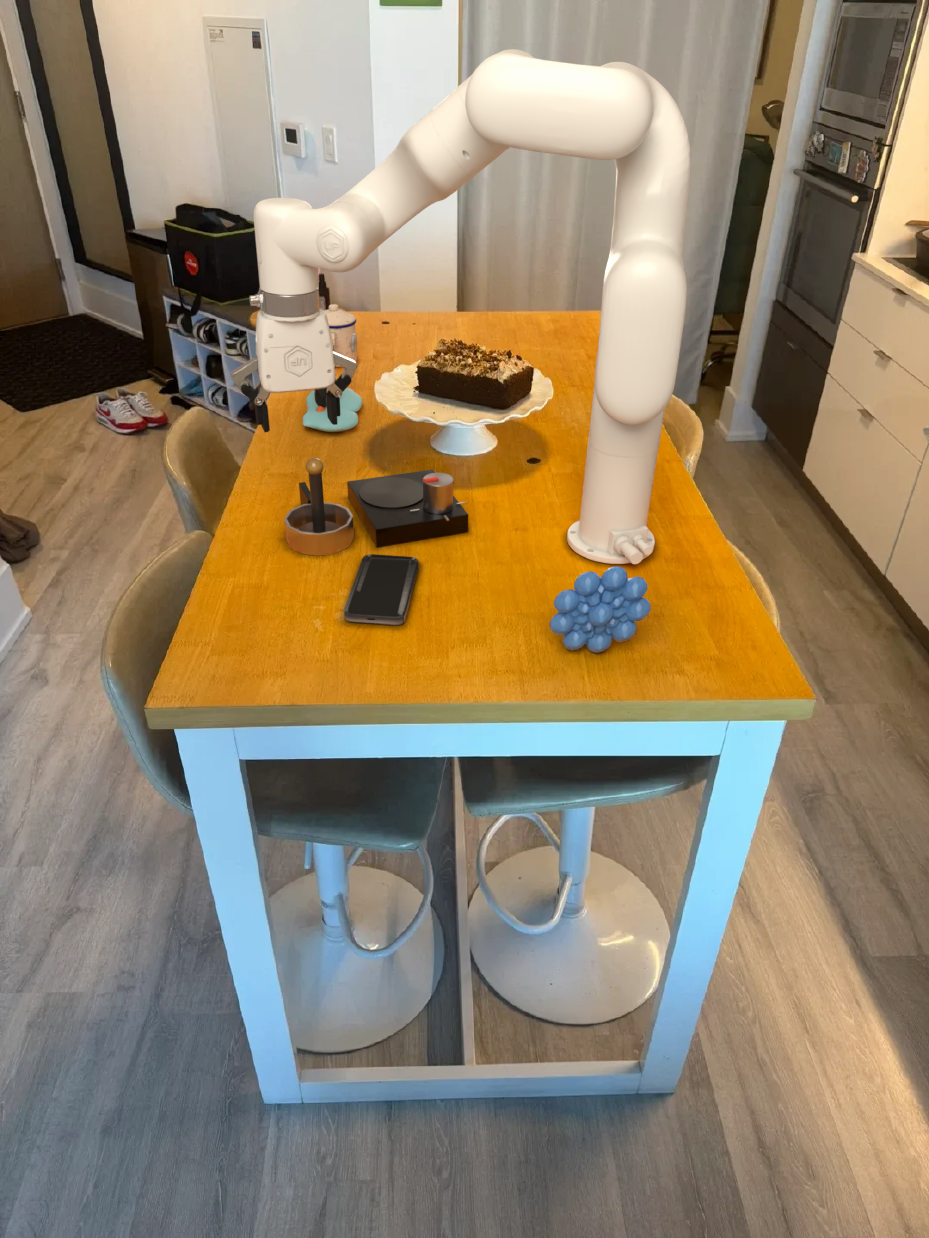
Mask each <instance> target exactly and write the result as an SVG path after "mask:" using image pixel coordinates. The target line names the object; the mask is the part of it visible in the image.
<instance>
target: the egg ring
mask: <svg viewBox="0 0 929 1238" xmlns="http://www.w3.org/2000/svg"><path fill="white" fill-rule="evenodd" d="M298 490H299V500H300V501H299V502H300V505H297V506H296V507H293V508H292V509H290V510H289V511H288V512H287V514H286V515H285V516H284V518H283V522H284V532H285V541H286V543H287V546H288V547H289V549H290V550H292V551H294V552H296V553H299V554H300V555H306V556H315V557H322V556H328V555H334V554H338V553H340V552H342V551H344V550H346V549H347V548H349V547H350V546H351V545H352V543H353V540H354V539H355V530H354V516H353V514H352V512H351V511H350V509H349V508H347V507H345V506H343V505H341V504H339V503H335V502H326V501H324V511H325V521H327V522H332V523H335V524H337V525H339V526H340V528H338V529H336V530H334V531H327V532H321V533H312V532H302V531H300V530H299V528H300V527H302V526H303V525H305V524H308V523H311V522H313V521H312V509H311V497H310V487H309V486H308V484H307V483H306V481H302V482H298Z"/></svg>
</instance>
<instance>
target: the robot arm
mask: <svg viewBox="0 0 929 1238" xmlns="http://www.w3.org/2000/svg"><path fill="white" fill-rule="evenodd" d="M510 148H513V149H518V150H523V151H528V152H529V151H530V152H535V153H543V154H551V155H559V156H567V157H573V158H581V159H587V160H589V159H590V160H599V161H612V160H614V164H615V171H616V172H615V191H614V203H613V204H614V205H613V221H612V231H611V241H610V248H609V255H608V259H607V263H606V266H605V269H604V275H603V283H602V292H601V293H602V294H601V295H602V296H601V305H600V316H599V317H600V319H599V330H598V342H597V344H598V345H597V352H596V357H595V367H594V368H595V369H594V382H593V392H592V403H591V413H590V421H589V432H588V439H587V448H586V457H585V466H584V476H583V483H582V484H583V486H582V494H581V503H580V512H579V520H577V521H575V522H573V523H572V524H571V525H570V527H569V528H568V530H567V534H566V541H567V544H568V546H569V547H570V549H572V550H573V551H574V553H576V554H578V555H579V556H580V557H583V558H586V559H588V560H590V561H593V562H597V563H601V564H610V565H625V564H632V565H638V564H639V563H641V562H642V561H643V560H644V559H646V558H648V557H649V556H650V555H651V554H652V553H653V552H654V549H655V543H656V539H655V536H654V534H653V532H652V531H651V530H650V529H649V527H648V526H647V524H648V519H649V511H650V504H651V499H652V493H653V492H652V491H653V486H654V478H655V472H656V467H657V460H658V453H659V448H660V443H661V436H662V429H663V423H664V416H665V409H666V407H667V406H668V404H669V403H670V401H671V399H672V397H673V393H674V390H675V385H676V379H677V375H678V374H677V373H678V366H679V359H680V352H681V346H682V340H683V331H684V325H685V316H686V310H687V309H686V308H687V298H688V282H687V276H686V275H687V274H686V270H685V264H684V244H685V243H684V242H685V234H686V226H687V217H688V205H689V195H690V187H691V185H690V184H691V170H692V167H691V165H692V163H691V162H692V157H691V146H690V139H689V134H688V129H687V126H686V122H685V120H684V117H683V115H682V112H681V110H680V109H679V106H678V104H677V103H676V101H675V99H674V98H673V96H672V95H671V93H670V92H669V91H668V90H667V89H666V88H665V86H664V85H662V84H661V82H659V81H658V80H657V79H655V78H654V77H653V76H651V75H650V74H649V73H648V72H647V71H645V70H643V69H641V68H639V67H638V66H636V65H634V64H632V63H628V62H625V61H611V62H607V63H604V64H602V65H600V66H599V65H588V64H579V63H571V62H563V61H554V60H547V59H542V58H535V57H534V56H533V55H531V54H530V53H528V52H526V51H525V50H521V49H516V48H509V49H504V50H502V51H499V52H497V53H495V54H492V55H490V56H489V57H487V58H485V59H484V60H483V61H482V62H481V63H480V64H478V66H477V67H476V68H475V70H474V71H473V72H472V74H471V75H469V76H468V77H467V78H466V79H465V80H464V81H463V82H461V83H460V84H459V85H458V86H457V87H456V88H454V90H452V91H451V92H450V93H449V94H448V95H446V97H444V98H443V99H442V100H441V101H440V102H439V103H437V104H436V105H435V106H434V107H433V108H432V109H430V110H429V111H428V112H427V113H426V114H424V115H423V116H422V117H421V118H420V119H418V121H416V122H415V123H414V124H413V125H412V126H410V128H408V129H407V131H406V132H405V133H404V134H403V135H402V136H401V138H400V140H399V142H398V143H397V145H396V147H395V148H394V149H393V151H391V153H389V155H388V156H387V157H386V158H385V159H384V160H383V161H382V162H380V163H379V164H378V165H377V166H375V168H373V170H371V171H370V172H369V173H368V174H367V175H366V176H365V177H363V178H362V179H361V180H360V181H359V182H357V183H356V184H355V185H354V186H353V187H352V188H350V189H349V190H348V191H347V192H345V193H344V194H343V195H342V196H340V197H339V198H337V199H336V200H335V201H333V202H332V203H330V204H328V205H325V206H324V207H319V208H313V207H312V205H311V204H310V203H309V202H307V201H305V200H303V199H300V198H295V197H271V198H265V199H262V200H260V201H258V202H257V203H256V205H255V206H254V208H253V227H254V238H255V249H256V259H257V270H258V283H259V287H258V291H257V293H255V294H253V295H249V298H248V299H249V304H250V307H257V308H259V309H260V310H259V311H258V312H257V314H256V323H255V324H256V325H255V356H254V357H252V358H250V359H249V360H247V361H245V362H244V363H242V364H241V365H239V366H238V367H236V368H234V369H233V370H231V372H230V375H231V378H232V380H233V382H234V383H235V385H236V386H237V387H238V389H239V390H240V392H241V393H242V395H244V396H245V397H246V398H247V399H249V400H250V401H252V402H253V403H254V409H255V410H254V411H255V413H254V414H255V420H256V425H257V426H261V428H262V430H263V432H264V433H269V432H270V431H271V429H270V417H269V408H268V404H267V402H266V400H267V398H268V397H269V396H270V395H271V394H283V393H294V392H303V391H304V392H305V391H314V390H315V389H323V388H327V389H328V390H329V391H327V393H326V398H327V416H328V419H329V420H330V422H331V423H332V424H333V425H337V416H340V397H341V396H342V394H343V393H342V392H343V391H344V390H345V389H346V388H349V386H350V385H351V384H352V381H353V378H354V376H355V373H356V372H357V370H358V367H359V366H358V363H357V361H356V362H355V361H354V360H352V359H350V358H347V357H345V356H343V355H340V354H338V353H336V352H333V348H332V340H331V334H330V328H329V323H328V319H327V315H326V312H325V310H324V309H322V308H321V307H320V291H319V290H320V289H319V273H318V272H319V271H318V269H320V270H324V271H327V272H332V273H347V272H350V271H352V270H355V269H357V268H358V267H359V266H360V265H361V264H362V263H364V261H365V260H366V259H367V258H368V257H369V256H370V255H371V254H372V253H373V252H374V251H375V250H377V248H379V247H380V246H381V245H382V244H383V243H384V242H385V241H387V240H388V239H389V238H391V237H392V236H393V235H394V234H395V233H396V232H398V231H399V230H400V229H401V228H402V227H404V226H405V225H406V224H408V222H410V221H411V220H412V219H413V218H415V217H416V216H418V214H421V212H423V211H424V210H425V209H427V208H428V207H430V206H432V205H433V204H435V203H438V202H442V201H444V200H446V199H447V198H449V197H450V196H451V195H453V194H454V193H456V192H457V191H458V190H460V189H461V188H462V187H463V186H464V185H466V184H467V183H468V182H469V181H470V180H472V179H473V178H474V177H475V176H476V175H478V174H479V173H480V172H482V170H484V169H485V168H486V167H488V166H489V165H490V164H491V163H493V162H494V161H495V160H496V159H498V158H499V157H500V156H502V155H503V154H504V153H505V152H506V151H508V150H509V149H510ZM334 363H335V364H337V365H340V366H342V368H343V370H342V373H341V374H340V375H339V376H338V377H337V378H336V368H335V366H334ZM255 372H256V374H257V378H258V380H259V381H258V382H257V384H256V385H255V386H254V387H253V386H251V385H250V384H249V383H248V382H247V381H246V378H247V377H248V376H249V375H251V374H252V373H255ZM335 378H336V381H335Z"/></svg>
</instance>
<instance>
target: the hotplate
mask: <svg viewBox="0 0 929 1238" xmlns="http://www.w3.org/2000/svg"><path fill="white" fill-rule="evenodd" d="M431 473H436V471H435V470H434V469H431V468H430V469H425V470H417V471H412V472H403V473H396V474H391V475H384V476H376V477H369V478H362V479H361V478H360V479H355V480H348V481H347V482H346V485H347V499H348V501H349V503H350V505H352V507H353V510H354V511H355V513H356V514H357V516H358V518H359V520H360V521H361V523H362V525H363V527H364V529H365V530H366V531H367V533H368V535H369V537H370V538H371V540H372V542H373V544H374V546H375V547H376V548H382V547H388V546H393V545H400V544H407V543H412V542H419V541H424V540H431V539H437V538H442V537H448V536H454V535H460V534H466V533H467V534H468V533H469V513H468V512H467V511H466V509H465V508H464V507H463V505H466V503H467V502H466V501H458V499H457V498H456V497H455V496H454V495H453V509H452V510H451V511H449V512H447V513H443V514H433V513H429V512H427V511H425V510H424V508H423V500H421V501H420V502H418V503H417V504H414V505H412V506H408V507H404V508H380V507H376V506H372V505H370V504H367V503H366V502H364V501H363V500H362V499H361V498H360V495H359V491H360V489H361V487H362V486H363V485H365V484H366V483H368V482H370V481H373V480H376V479H380V478H388V477H398V478H406V479H410V480H413V481H416V482H418V483H420V484H421V485H422V486H423V478H424V476H426V475H428V474H431Z"/></svg>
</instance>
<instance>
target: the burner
mask: <svg viewBox="0 0 929 1238" xmlns="http://www.w3.org/2000/svg"><path fill="white" fill-rule="evenodd" d="M359 495H360V498H361V499H362V500H363V501H364V502H366V503H367V504H370V505H372V506H376V507H380V508H404V507H408V506H412V505H414V504H417V503H418V502H420V501H421V500H423V486H422V485H421V484H420V483H418V482H416V481H413V480H410V479H406V478H398V477H388V478H380V479H376V480H373V481H370V482H368V483H366V484H365V485H363V486H362V487H361V489H360V491H359Z"/></svg>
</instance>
